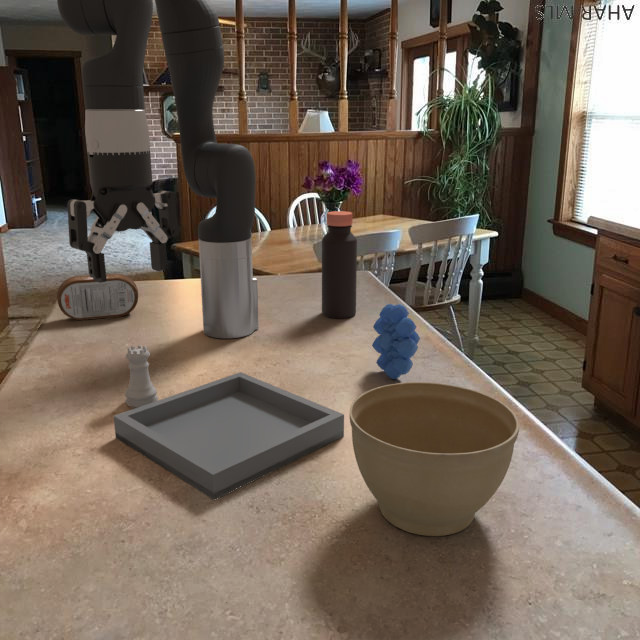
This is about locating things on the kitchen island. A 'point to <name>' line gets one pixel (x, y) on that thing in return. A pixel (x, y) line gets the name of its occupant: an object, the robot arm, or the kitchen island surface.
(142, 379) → the rook chess piece
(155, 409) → the tray
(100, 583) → the kitchen island surface
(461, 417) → the planter bowl
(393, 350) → the grapes
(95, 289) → the tin
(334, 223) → the bottle
